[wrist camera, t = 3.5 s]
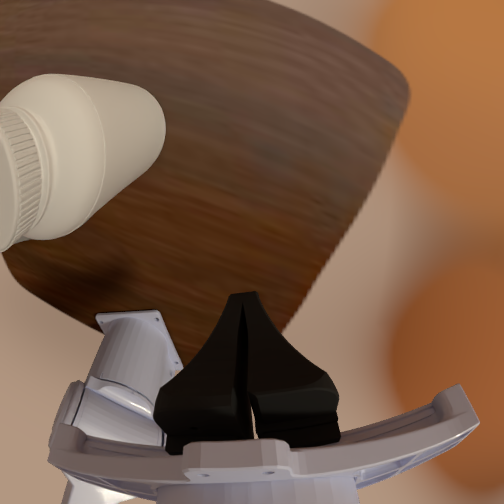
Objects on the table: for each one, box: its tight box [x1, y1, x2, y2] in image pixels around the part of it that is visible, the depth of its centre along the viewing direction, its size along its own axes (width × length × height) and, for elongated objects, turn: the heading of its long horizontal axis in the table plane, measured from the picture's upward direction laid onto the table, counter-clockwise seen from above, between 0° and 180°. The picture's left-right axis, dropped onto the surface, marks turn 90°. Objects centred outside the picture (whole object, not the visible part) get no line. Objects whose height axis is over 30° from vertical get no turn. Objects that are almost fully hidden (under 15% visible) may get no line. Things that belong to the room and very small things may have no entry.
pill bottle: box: [0, 74, 166, 253], centre depth 12 cm, size 8×8×15 cm
